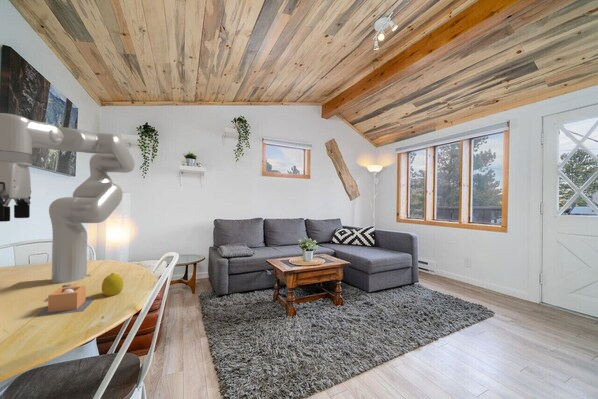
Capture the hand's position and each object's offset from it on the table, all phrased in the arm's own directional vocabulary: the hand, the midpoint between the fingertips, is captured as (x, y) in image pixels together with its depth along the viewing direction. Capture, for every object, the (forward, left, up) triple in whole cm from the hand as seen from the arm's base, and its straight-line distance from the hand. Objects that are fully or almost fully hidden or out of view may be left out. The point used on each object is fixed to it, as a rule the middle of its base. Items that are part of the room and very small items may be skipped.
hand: (12, 219), depth 71 cm
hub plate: (+8, +16, -25) cm, 31 cm away
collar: (+8, +16, -24) cm, 30 cm away
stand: (-2, +12, -25) cm, 28 cm away
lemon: (+1, +24, -25) cm, 35 cm away
